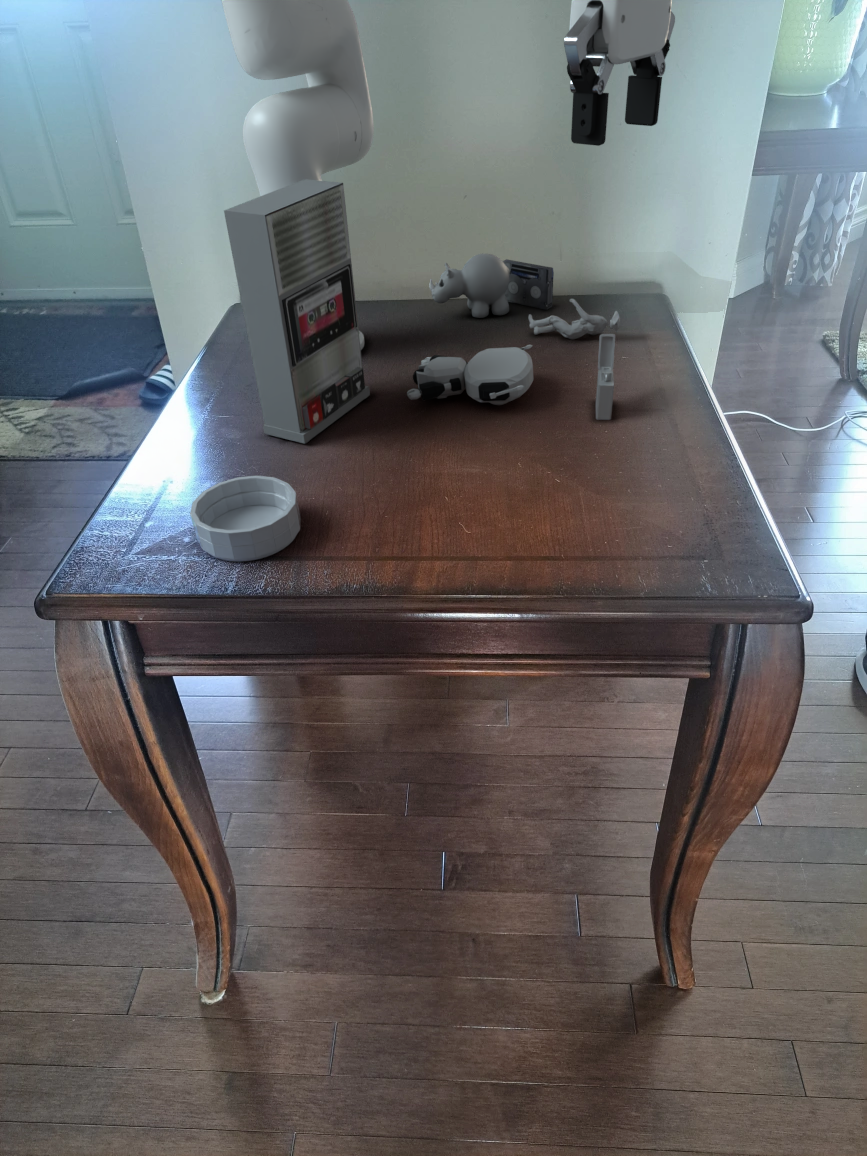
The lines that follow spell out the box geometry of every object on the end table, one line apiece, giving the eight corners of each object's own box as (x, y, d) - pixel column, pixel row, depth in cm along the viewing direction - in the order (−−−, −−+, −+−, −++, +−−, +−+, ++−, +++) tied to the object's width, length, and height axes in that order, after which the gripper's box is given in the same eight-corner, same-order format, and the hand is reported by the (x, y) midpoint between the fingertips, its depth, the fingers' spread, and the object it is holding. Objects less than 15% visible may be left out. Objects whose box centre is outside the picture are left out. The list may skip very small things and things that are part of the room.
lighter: (611, 419, 97) (617, 354, 92) (595, 419, 97) (601, 354, 92) (609, 393, 102) (615, 330, 97) (595, 392, 102) (600, 329, 97)
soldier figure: (538, 331, 121) (620, 307, 117) (543, 362, 120) (626, 339, 116) (524, 308, 114) (610, 282, 110) (529, 341, 113) (616, 315, 109)
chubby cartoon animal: (427, 308, 128) (424, 252, 123) (504, 301, 129) (504, 245, 124) (433, 325, 122) (430, 267, 117) (513, 318, 123) (514, 259, 118)
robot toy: (406, 420, 101) (530, 416, 97) (401, 386, 98) (528, 380, 95) (424, 377, 110) (538, 372, 107) (420, 345, 107) (536, 339, 104)
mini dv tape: (552, 306, 126) (553, 266, 122) (546, 310, 125) (548, 269, 121) (507, 297, 130) (507, 258, 127) (502, 300, 129) (502, 260, 126)
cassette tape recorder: (307, 446, 95) (270, 216, 80) (265, 435, 97) (221, 210, 82) (371, 397, 104) (350, 183, 89) (332, 388, 107) (304, 179, 91)
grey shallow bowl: (177, 539, 81) (169, 509, 79) (254, 494, 87) (248, 465, 85) (245, 576, 76) (237, 545, 74) (322, 525, 82) (317, 495, 80)
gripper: (643, -104, 73) (624, 115, 84) (534, -101, 63) (529, 148, 74) (724, -110, 69) (694, 120, 80) (622, -108, 59) (603, 156, 70)
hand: (615, 133), depth 77 cm, fingers open, 9 cm apart
